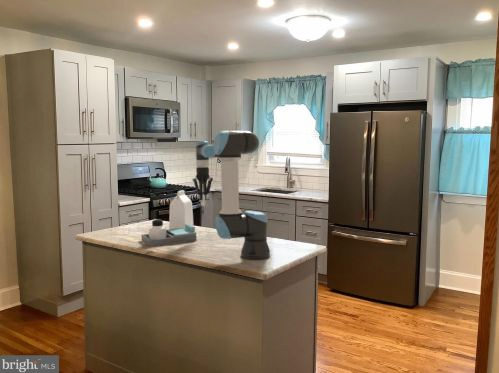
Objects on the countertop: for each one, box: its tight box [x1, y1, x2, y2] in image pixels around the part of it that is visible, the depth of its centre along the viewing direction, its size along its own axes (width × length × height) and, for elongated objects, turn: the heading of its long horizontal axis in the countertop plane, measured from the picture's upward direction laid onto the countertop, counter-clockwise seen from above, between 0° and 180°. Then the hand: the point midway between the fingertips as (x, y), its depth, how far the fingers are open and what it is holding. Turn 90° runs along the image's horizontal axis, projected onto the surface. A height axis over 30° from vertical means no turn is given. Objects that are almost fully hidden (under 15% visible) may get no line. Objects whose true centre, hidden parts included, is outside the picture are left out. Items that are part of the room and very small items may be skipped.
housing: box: [140, 228, 197, 248], centre depth 267 cm, size 16×28×5 cm, turn 121°
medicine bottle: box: [148, 218, 167, 240], centre depth 263 cm, size 7×7×12 cm
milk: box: [168, 190, 194, 230], centre depth 291 cm, size 12×12×26 cm
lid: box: [167, 224, 197, 235], centre depth 271 cm, size 12×13×4 cm
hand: (203, 205), depth 275 cm, fingers closed
